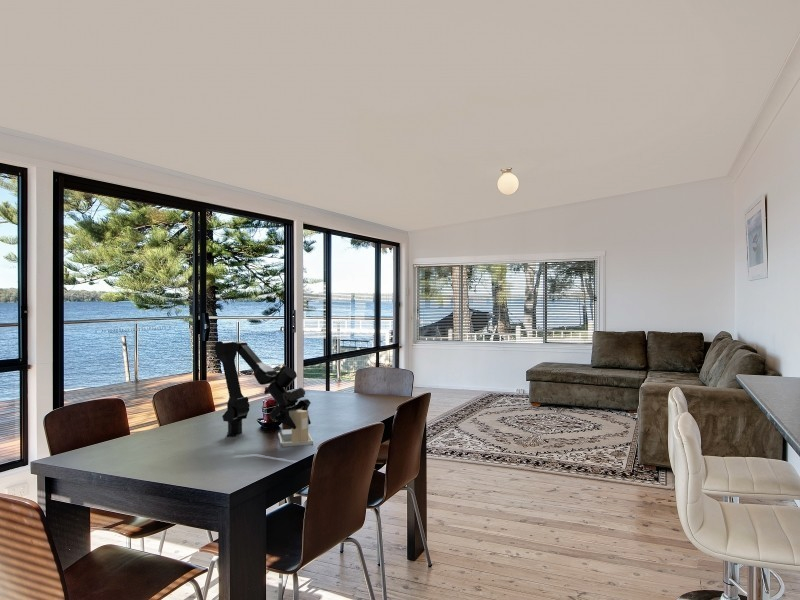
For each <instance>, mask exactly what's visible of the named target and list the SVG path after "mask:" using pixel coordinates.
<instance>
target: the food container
mask: <svg viewBox="0 0 800 600" xmlns="http://www.w3.org/2000/svg"><path fill="white" fill-rule="evenodd" d="M289 416H290V417H291V419H292V411H290V412H289ZM281 426H282V428H281V431H282V430H290V429H292V428H291V427H289V426H287V425H285V424H283V423H281Z"/></svg>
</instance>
